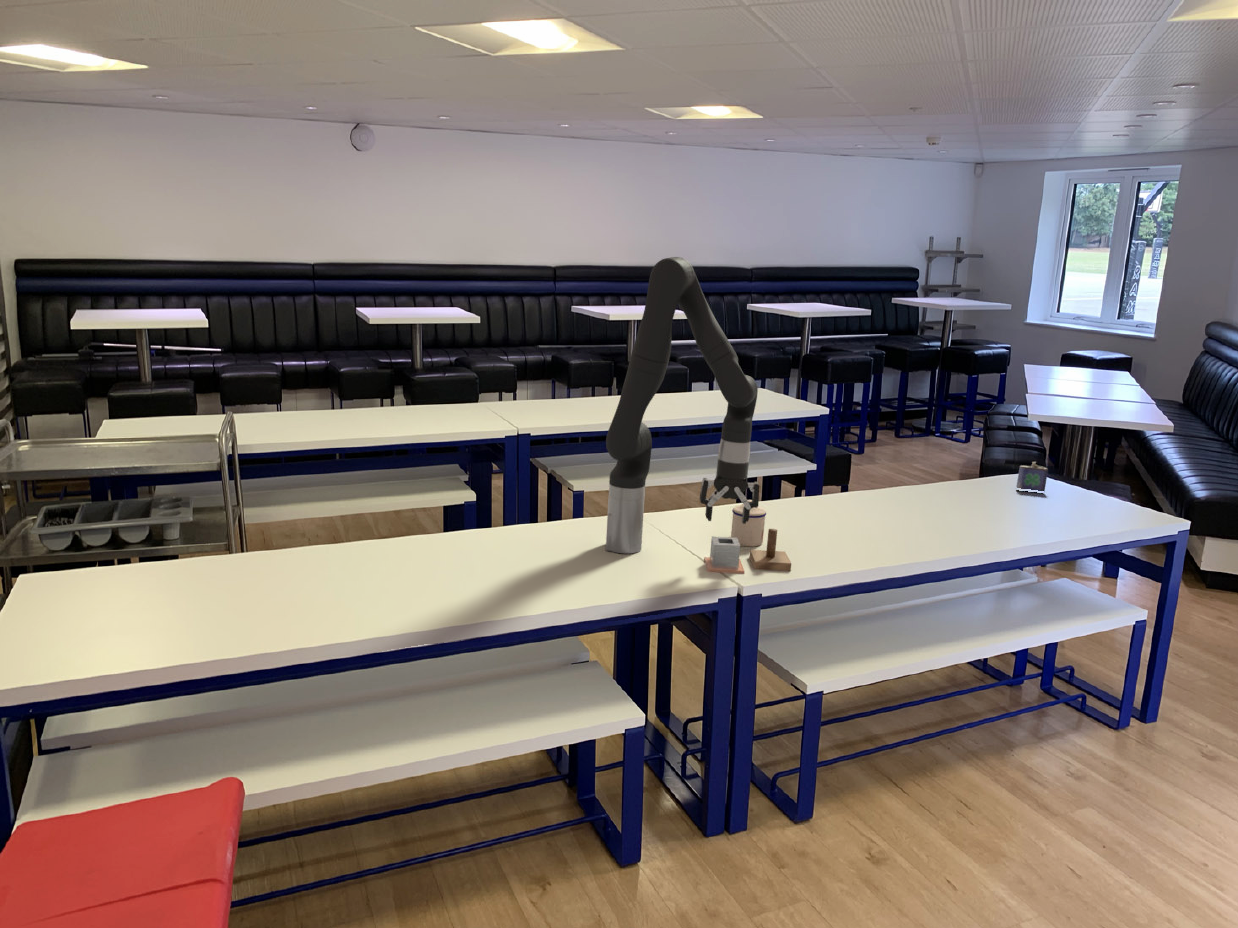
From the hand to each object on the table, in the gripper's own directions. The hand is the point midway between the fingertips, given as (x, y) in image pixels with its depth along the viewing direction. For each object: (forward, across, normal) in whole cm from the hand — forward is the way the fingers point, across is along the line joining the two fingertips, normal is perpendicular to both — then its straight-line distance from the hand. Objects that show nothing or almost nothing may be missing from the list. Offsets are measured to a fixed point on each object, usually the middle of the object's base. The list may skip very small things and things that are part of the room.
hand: (726, 521), depth 229 cm
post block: (+11, +12, +3) cm, 17 cm away
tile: (+12, 0, -1) cm, 12 cm away
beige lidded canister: (+12, +9, +21) cm, 26 cm away
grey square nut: (+11, 0, -1) cm, 11 cm away
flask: (+10, +118, +91) cm, 150 cm away
